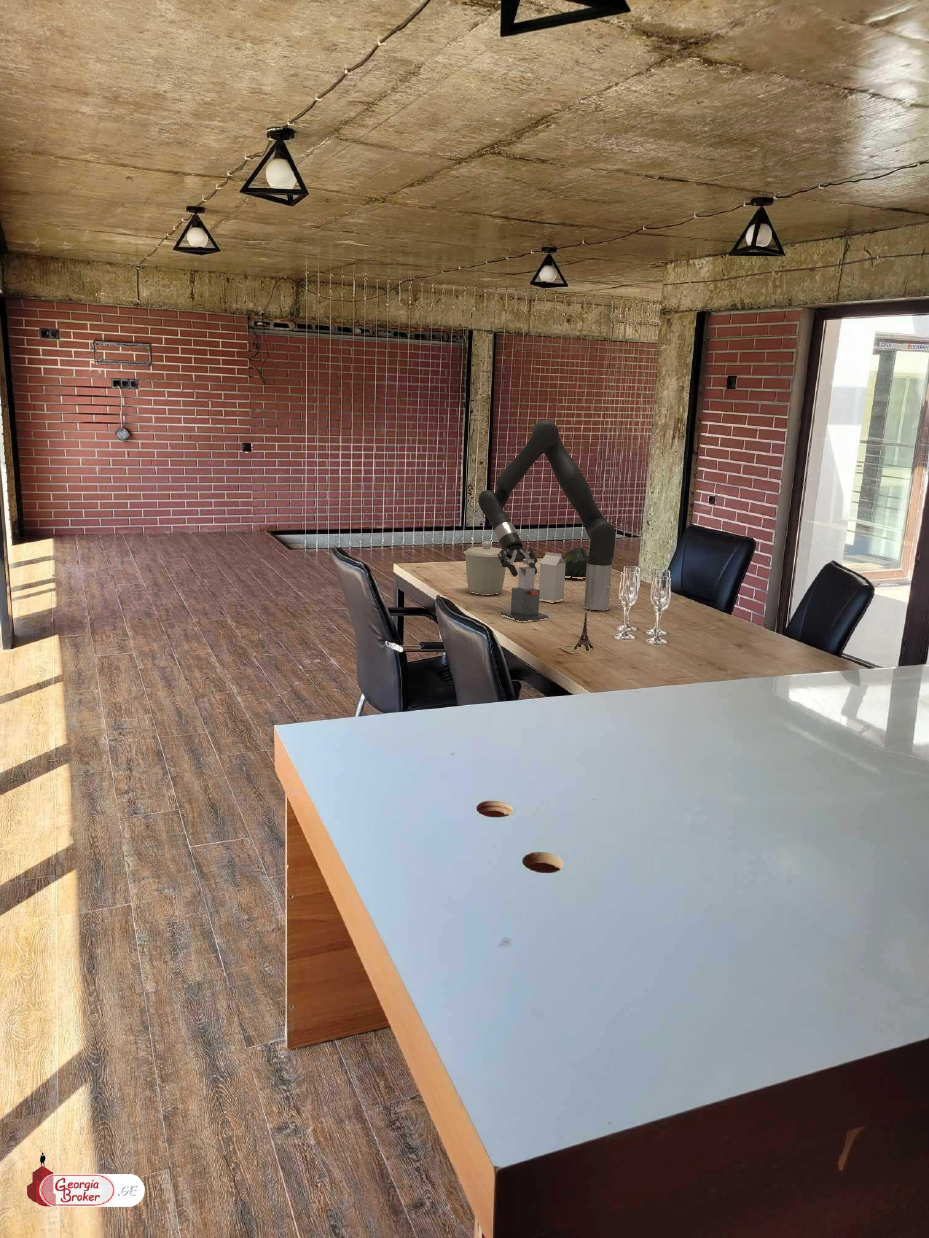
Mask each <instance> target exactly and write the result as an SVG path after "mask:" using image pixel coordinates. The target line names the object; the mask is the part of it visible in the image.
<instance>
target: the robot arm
mask: <svg viewBox="0 0 929 1238" xmlns="http://www.w3.org/2000/svg"><path fill="white" fill-rule="evenodd" d="M559 434H560V433H559V428H558V426H557V425H556V424H555V422H552V421H551V420H548V419H547V420H546V419H543V420H539V421H537V422H536V423H535V424H534V425H533V428H532V435H531V436H530V438H529V440H528V442H527V443H526V444H525V446H524V447H523V449H522V450H521V451H520V452H519V453H518V454H517V456H516V457H515V458H513V460H511V461H510V462H509V464H508V465H507V466H506V467H505V469H503V471H502V472H501V473H500V475H499V476H498V477H497V479H496V481H495V485H496V489H495V491H494V492H493V491H491V490H490V489H489V490H488V489H487V490H486V489H485V490H483V491H481V492H480V494H479V495H478V498H477V499H478V500H477V501H478V506H479V508H480V510H481V511H482V512H483V514H484V516H485V517H486V519H487V520H488V521H489V523H490V525H491V527H492V530H493V532H494V535H495V537H496V540H497V542H498V544H499V546H500V549H502V550H501V551H500V552H499V554H498V557H499V559H500V562H501V564H502V566H503V567H504V568H505V567H506V569H508V570H509V572H510V575H512V577H513V578H515V577H517V576H519V571H518V570H517V568H516V566H515V564H514V563H522V564H523V565H527V567H531V568H535V576H536V574H538V569H537V566H536V564H537V563H538V561H539V560H538V558H537V556H536V554H535V552H534V551H533V549H532V548H530V547H529V548H528V549H524V547H523V542H522V541H523V540H521V538H520V535H519V533H518V532H517V529H516V527H515V526H514V525H513V522H512V521H511V519H510V516H509V515H508V513H507V512H506V511H505V510H503V509H504V507H505V506H506V504H507V502H508V500H509V498H510V496H511V494H512V492H513V490H514V489H516V487H517V485H518V484H519V483H520V481H521V480H522V479H523V478H524V476H525V475H526V474H527V473H528V472H529V470H530V469H531V468H532V466H533V465H534V463H536V461H537V460H538V459H539V458H540V457H541V456H542V455H543V454H544V455H545V457H546V458H547V460H548V462H549V464H550V467H551V470H552V472H553V474H554V476H555V479H556V480H557V483H558V485H559V487H560V488H561V490H562V492H563V493H564V495H565V497H566V498H567V501H569V503H570V504H571V506H572V507H573V509H574V510H575V512H576V513H577V515H578V517H579V518H580V520H581V522H582V525H583V527H584V529H585V532H586V533H587V536H588V538H589V540H590V541H589V552H588V554H587V555H588V557H587V571H586V578H585V586H584V587H585V591H584V601H583V608H584V607H585V608H589V609H592V610H608V609H609V610H610V600H611V585H612V584H611V581H612V568H613V567H612V566H613V560H614V556H615V550H616V539H617V538H616V533H617V532H616V529H615V527H614V525H612V523H610V522H608V521H607V519H606V518H605V517H604V515H603V514H602V513H601V511H600V510H599V508H598V506H597V504H596V501H595V500H594V496H593V492H592V490H591V487H590V485H589V483H588V481H587V480H586V478H585V476H584V474H583V472H582V470H581V469H580V467H579V466H578V465H577V463H576V462H575V460H574V459H573V458H572V457H571V455H570V454H569V452H568V451H567V450H566V448H565V446H564V444H563V441H562V440H561V437H560V435H559ZM506 557H508V558H506ZM585 608H584V609H585ZM609 610H608V611H609Z"/></svg>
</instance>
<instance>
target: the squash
mask: <svg viewBox="0 0 929 1238" xmlns="http://www.w3.org/2000/svg"><path fill="white" fill-rule="evenodd" d="M588 555H589V554H587V552H586V551H585V549H584V548H583V547H576V548H574V549H572V550H569V551H566V552H565V553H563V554H562V558H563V560H564V562H565V563H566V565H565V576H571V577H586V571H587V557H588Z"/></svg>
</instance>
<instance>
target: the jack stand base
mask: <svg viewBox="0 0 929 1238" xmlns="http://www.w3.org/2000/svg"><path fill="white" fill-rule="evenodd" d="M539 595H540V590H539V588H536V587H534V590H525V591H524V590H521V589H518V586H517V587H512V588H511V596H510V597H511V598H510V599H511V600H510V603H511V604H510V610H507V611H505V610H504V611H500V616H501V615H505V616H508V617H510V618H514V619H515V620H519V621H528V620H540V619H544V618H548V619H549V615H547V614H544V613H540V612H539V611H540V610H539V609H540V601H539Z"/></svg>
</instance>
